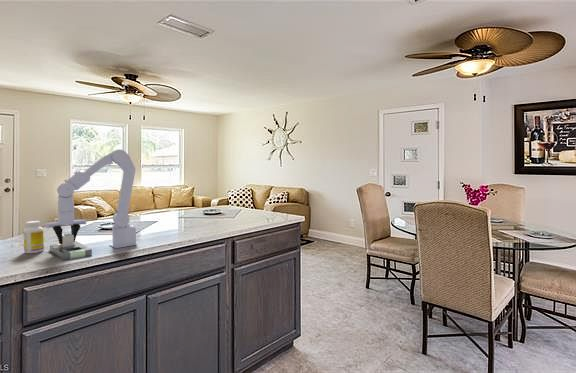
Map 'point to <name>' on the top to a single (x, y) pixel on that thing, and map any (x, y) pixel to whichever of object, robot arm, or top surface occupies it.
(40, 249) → the supplement bottle
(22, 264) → the top surface
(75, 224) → the robot arm
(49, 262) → the top surface
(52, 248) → the panel
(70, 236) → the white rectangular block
